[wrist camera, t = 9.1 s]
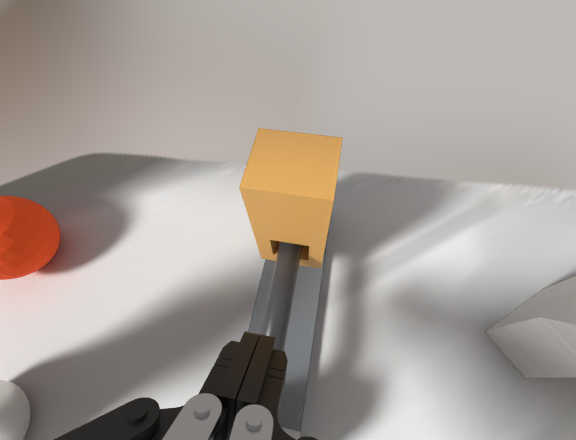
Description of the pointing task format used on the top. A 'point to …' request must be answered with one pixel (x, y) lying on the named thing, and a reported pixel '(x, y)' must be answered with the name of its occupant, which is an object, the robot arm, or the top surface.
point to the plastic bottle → (13, 412)
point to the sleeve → (291, 191)
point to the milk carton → (541, 333)
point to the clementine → (25, 237)
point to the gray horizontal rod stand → (289, 323)
